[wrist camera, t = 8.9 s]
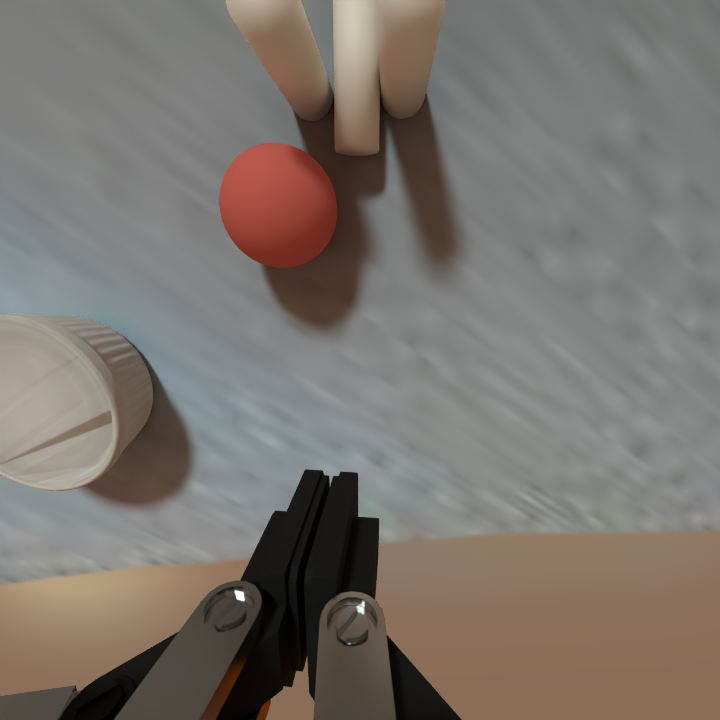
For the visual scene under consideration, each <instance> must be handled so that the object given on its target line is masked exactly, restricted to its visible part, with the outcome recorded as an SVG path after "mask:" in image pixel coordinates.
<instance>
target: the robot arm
mask: <svg viewBox="0 0 720 720" xmlns="http://www.w3.org/2000/svg"><path fill="white" fill-rule="evenodd" d="M378 545H379V518H367V517H358V473H354V472H340V474H339V476H333V479H332V482H331V486H330V483H329V476H327V475H324V473H323V471H322V470H305V471H304V473H303V475H302V478H301V480H300V482H299V485H298V487H297V489H296V491H295V494H294V496H293V498H292V501H291V503H290V505H289V508H288V510H287V511H275V512H274V513H273V515H272V516H271V518H270V520H269V522H268V524H267V527H266V529H265V531H264V533H263V535H262V537H261V539H260V541H259V543H258V545H257V547H256V549H255V551H254V553H253V555H252V557H251V559H250V561H249V564H248V566H247V568H246V570H245V572H244V574H243V576H242V578H241V580H240V581H232V582H227V583H225V584H222V585H220V586H218V587H216V588H215V589H214V590H212V591H211V592H209V593H208V594H207V596H206V597H205V598H204V599H203V600H202V601H201V602H200V604H199V605H198V606H197V608H196V609H195V611H194V612H193V613H192V615H191V616H190V617H189V619H188V620H187V621H186V623H185V624H184V626H183V627H182V628H181V629H180V631H179V632H177V633H175V634H174V635H172V636H170V637H169V638H167V639H165V640H163V641H162V642H160V643H159V644H157V645H155V646H153V647H151V648H150V649H148V650H146V651H144V652H143V653H141V654H139V655H137V656H136V657H134V658H132V659H131V660H129V661H127V662H125V663H124V664H122V665H120V666H119V667H117V668H115V669H113V670H112V671H110V672H108V673H107V674H105V675H103V676H101V677H99V678H98V679H96V680H95V681H94V682H92V683H91V684H89V685H88V686H86V687H85V688H84V689H83V690H81V691H77V689H76V686H68V687H61V688H54V689H47V690H40V691H33V692H26V693H19V694H12V695H5V696H0V720H265V719H266V717H267V714H268V711H269V707H270V704H271V698H273V697H274V696H275V695H276V694H278V693H279V692H280V691H281V690H283V686H287V687H292V685H293V680H294V677H295V673H296V671H303V669H304V666H305V661H306V657H308V677H309V693H310V695H311V697H312V698H313V700H314V702H315V704H314V719H313V720H461V719H460V717H459V716H458V715H457V714H456V713H455V712H454V711H453V709H452V708H451V707H450V706H449V705H448V704H447V703H446V702H445V700H444V699H443V698H442V697H441V696H440V695H439V694H438V692H437V691H436V690H435V689H434V688H433V687H432V686H431V684H430V683H429V682H428V681H427V680H426V679H425V678H424V677H423V675H422V674H421V673H420V672H419V671H418V670H417V669H416V667H415V666H414V665H413V664H412V663H411V662H410V661H409V660H408V658H407V657H406V656H405V655H404V654H403V653H402V652H401V650H400V649H399V648H398V647H397V646H396V645H395V644H394V642H393V641H392V640H391V639H390V638H389V637H388V636H387V635H386V626H385V618H384V614H383V611H382V609H381V607H380V606H379V604H378V603H377V601H375V593H376V580H377V566H378Z"/></svg>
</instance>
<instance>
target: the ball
mask: <svg viewBox="0 0 720 720" xmlns="http://www.w3.org/2000/svg"><path fill="white" fill-rule="evenodd" d="M219 205H220V213H221V217H222V221H223V223H224V226H225V229H226V231H227V232H228V234H229V236H230V238H231V239H232V240H233V242H234V243H235V244H236V245H237V247H238V248H239V249H240V250H241V251H242V252H243V253H245V254H246V255H247V256H249V257H250V258H251V259H253V260H255V261H257V262H259V263H261V264H264V265H267V266H271V267H277V268H290V267H296V266H299V265H302V264H305V263H307V262H309V261H310V260H312V259H314V258H315V257H316V256H317V255H319V254H320V253H321V252H322V251H323V250H324V248H325V247H326V246H327V244H328V243H329V241H330V239H331V237H332V235H333V233H334V230H335V226H336V222H337V199H336V195H335V191H334V188H333V185H332V183H331V181H330V179H329V177H328V175H327V174H326V172H325V171H324V169H323V168H322V167H321V166H320V164H319V163H318V162H317V161H316V160H315V159H313V158H312V157H311V156H310V155H308V154H307V153H305V152H304V151H302V150H300V149H298V148H296V147H293V146H290V145H286V144H281V143H267V144H261V145H258V146H254V147H252V148H250V149H248V150H246V151H245V152H243V153H242V154H240V155H239V156H238V157H237V158H236V159H235V160H234V161H233V162H232V164H231V165H230V166H229V168H228V170H227V171H226V173H225V176H224V178H223V181H222V184H221V188H220V195H219Z"/></svg>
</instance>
